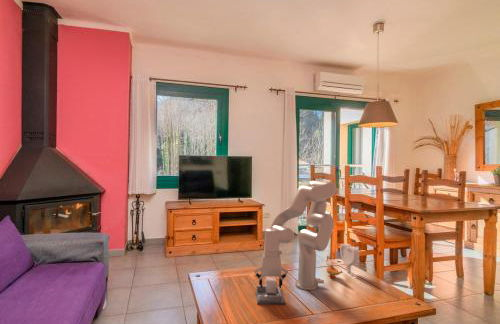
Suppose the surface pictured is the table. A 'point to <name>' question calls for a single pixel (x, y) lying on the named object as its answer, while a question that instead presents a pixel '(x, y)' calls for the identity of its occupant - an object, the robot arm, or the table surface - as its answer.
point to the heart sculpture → (349, 257)
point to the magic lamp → (332, 270)
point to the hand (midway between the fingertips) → (270, 286)
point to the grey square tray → (270, 296)
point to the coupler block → (270, 286)
